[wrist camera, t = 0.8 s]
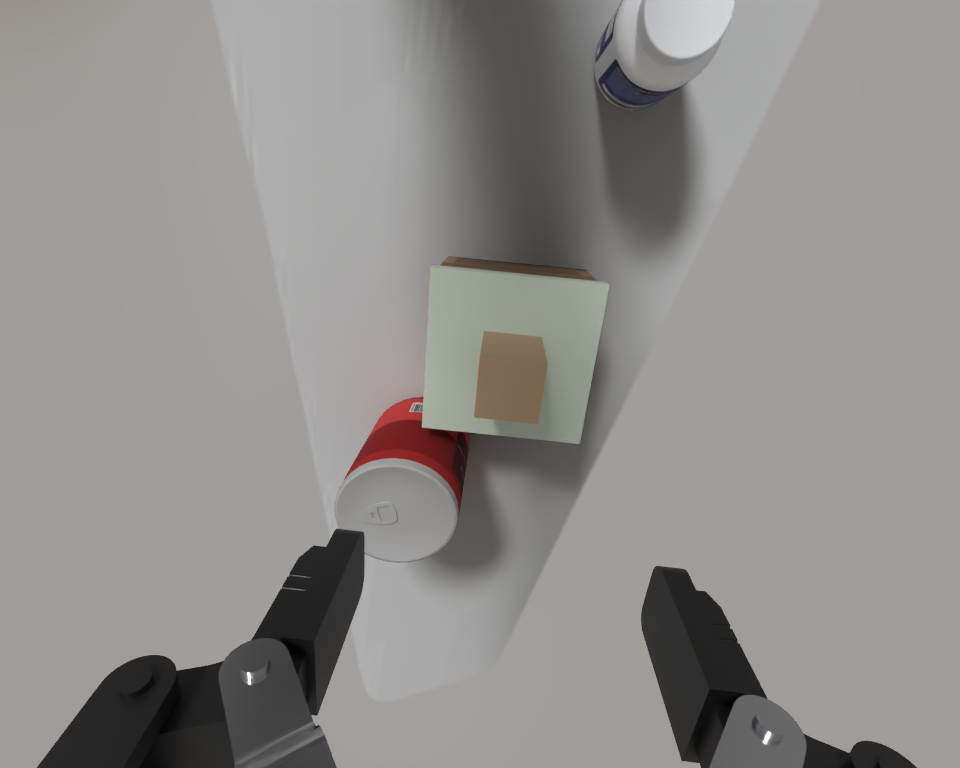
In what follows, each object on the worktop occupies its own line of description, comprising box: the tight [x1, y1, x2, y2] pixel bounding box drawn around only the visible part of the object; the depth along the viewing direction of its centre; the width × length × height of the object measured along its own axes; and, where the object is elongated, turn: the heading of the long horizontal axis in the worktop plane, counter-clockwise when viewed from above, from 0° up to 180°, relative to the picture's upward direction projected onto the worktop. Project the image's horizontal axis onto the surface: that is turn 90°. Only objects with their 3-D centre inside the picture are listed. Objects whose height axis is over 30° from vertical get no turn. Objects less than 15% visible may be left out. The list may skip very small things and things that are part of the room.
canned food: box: [335, 397, 469, 563], centre depth 36 cm, size 8×8×11 cm
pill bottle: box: [594, 0, 735, 110], centre depth 26 cm, size 5×5×10 cm
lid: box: [422, 265, 609, 444], centre depth 29 cm, size 10×10×6 cm
